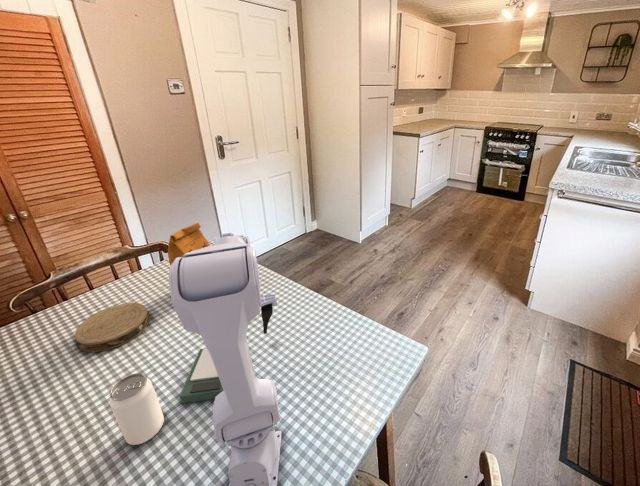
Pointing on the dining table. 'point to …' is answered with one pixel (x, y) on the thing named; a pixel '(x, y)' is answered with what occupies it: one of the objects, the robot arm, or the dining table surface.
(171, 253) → the coffee package
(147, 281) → the dining table surface
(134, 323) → the tan flat round disc
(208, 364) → the scale
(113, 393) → the can
